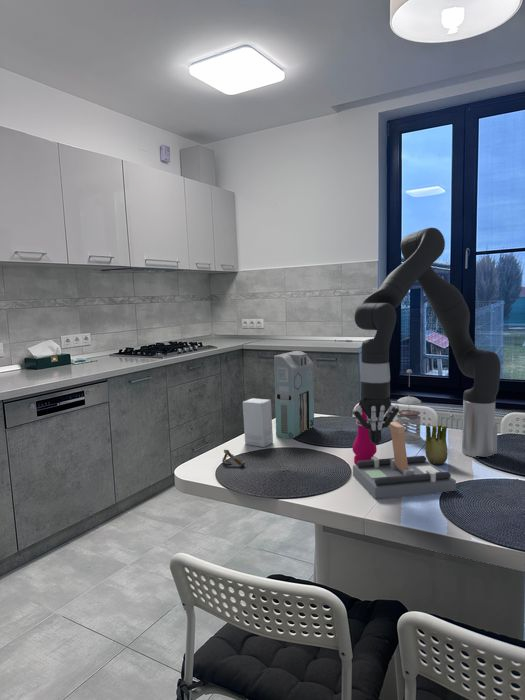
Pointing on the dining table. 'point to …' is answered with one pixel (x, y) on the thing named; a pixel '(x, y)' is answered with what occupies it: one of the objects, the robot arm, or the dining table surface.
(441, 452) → the fennel bulb
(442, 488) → the panel
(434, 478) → the pair of dark bars
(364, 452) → the pepper mill
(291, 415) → the device
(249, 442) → the skincare box
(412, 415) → the french press
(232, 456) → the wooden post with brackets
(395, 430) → the lever
